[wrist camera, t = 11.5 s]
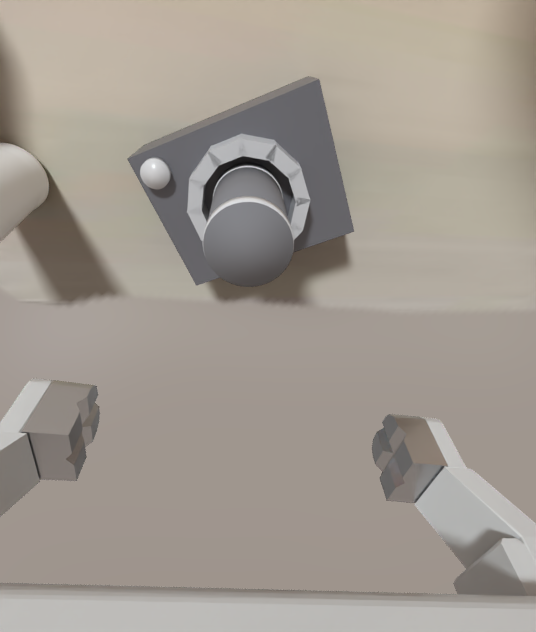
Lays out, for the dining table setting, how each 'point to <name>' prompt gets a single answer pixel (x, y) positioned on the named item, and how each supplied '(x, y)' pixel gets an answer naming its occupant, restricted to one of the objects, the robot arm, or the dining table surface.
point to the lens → (248, 227)
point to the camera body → (249, 146)
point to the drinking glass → (19, 186)
